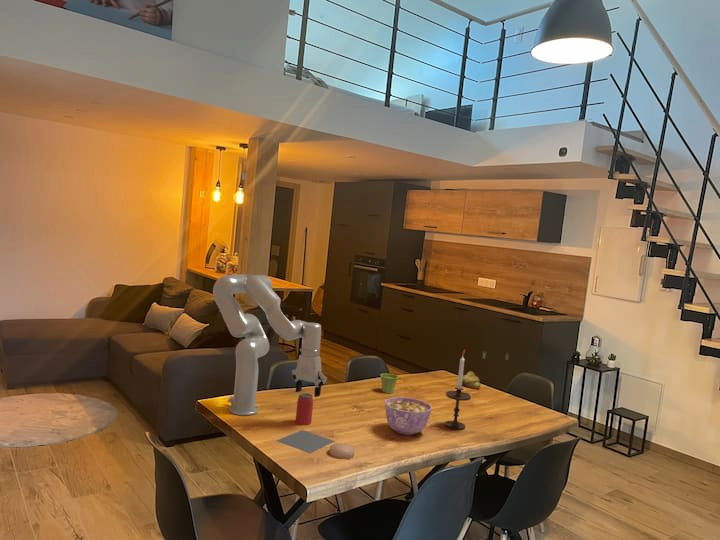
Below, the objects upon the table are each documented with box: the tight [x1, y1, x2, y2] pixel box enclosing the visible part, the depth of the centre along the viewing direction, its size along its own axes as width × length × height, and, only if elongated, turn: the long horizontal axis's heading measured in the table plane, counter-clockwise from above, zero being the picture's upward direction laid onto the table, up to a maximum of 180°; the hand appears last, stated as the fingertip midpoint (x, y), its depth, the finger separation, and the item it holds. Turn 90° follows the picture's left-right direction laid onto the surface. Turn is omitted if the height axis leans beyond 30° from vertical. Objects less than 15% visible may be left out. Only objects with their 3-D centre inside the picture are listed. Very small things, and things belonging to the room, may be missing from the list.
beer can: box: [295, 392, 314, 426], centre depth 222 cm, size 7×7×12 cm
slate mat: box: [275, 429, 336, 454], centre depth 202 cm, size 16×16×1 cm
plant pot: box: [379, 373, 399, 394], centre depth 282 cm, size 9×9×9 cm
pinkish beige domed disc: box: [329, 442, 356, 460], centre depth 194 cm, size 9×9×3 cm
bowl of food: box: [384, 396, 433, 436], centre depth 225 cm, size 20×20×12 cm
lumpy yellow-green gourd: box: [462, 370, 482, 390], centre depth 310 cm, size 13×10×8 cm
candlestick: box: [444, 349, 472, 431], centre depth 237 cm, size 11×11×35 cm
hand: (307, 393), depth 221 cm, fingers open, 9 cm apart
